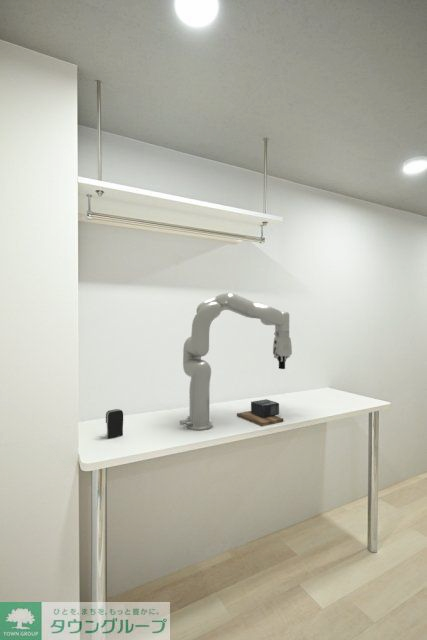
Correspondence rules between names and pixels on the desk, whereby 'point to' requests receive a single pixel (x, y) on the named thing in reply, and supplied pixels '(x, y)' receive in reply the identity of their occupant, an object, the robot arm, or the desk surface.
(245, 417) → the board
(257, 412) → the small box
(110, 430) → the battery charger
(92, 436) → the desk surface
